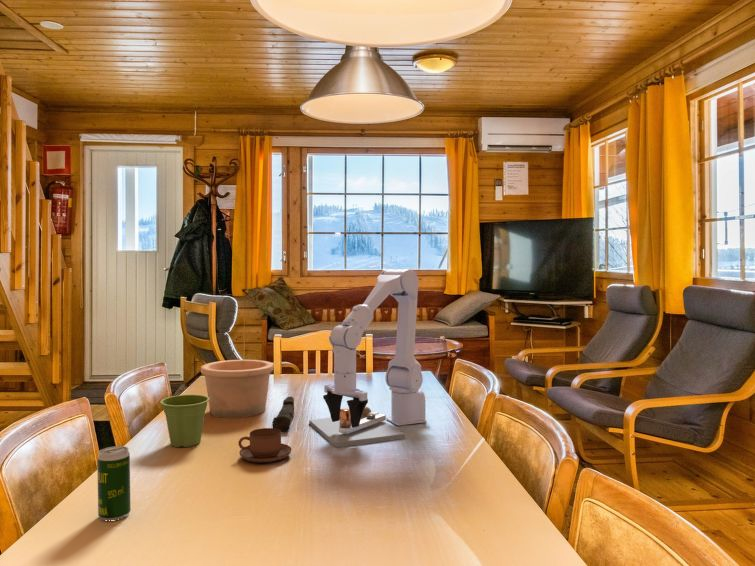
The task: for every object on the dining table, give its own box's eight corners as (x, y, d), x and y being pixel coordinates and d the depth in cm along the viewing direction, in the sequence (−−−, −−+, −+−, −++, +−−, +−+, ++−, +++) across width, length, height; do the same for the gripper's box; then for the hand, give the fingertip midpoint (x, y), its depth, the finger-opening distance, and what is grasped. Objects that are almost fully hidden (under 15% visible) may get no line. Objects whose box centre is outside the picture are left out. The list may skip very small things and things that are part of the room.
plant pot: (150, 447, 146) (149, 402, 146) (181, 434, 157) (181, 393, 157) (190, 453, 142) (189, 406, 142) (219, 439, 153) (219, 396, 153)
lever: (373, 417, 169) (373, 397, 168) (386, 420, 166) (386, 399, 166) (332, 432, 154) (332, 409, 154) (346, 435, 151) (346, 412, 151)
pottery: (222, 424, 167) (221, 374, 167) (189, 410, 184) (188, 364, 183) (287, 412, 182) (286, 365, 181) (251, 399, 198) (251, 357, 198)
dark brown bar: (289, 434, 159) (289, 413, 159) (272, 433, 159) (272, 413, 159) (301, 413, 182) (301, 395, 182) (286, 412, 182) (286, 394, 182)
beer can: (121, 507, 111) (120, 443, 110) (136, 515, 107) (135, 449, 107) (92, 516, 106) (91, 450, 106) (106, 525, 103) (105, 457, 103)
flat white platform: (370, 417, 175) (370, 402, 175) (404, 438, 154) (404, 421, 154) (309, 424, 168) (309, 408, 168) (335, 447, 147) (335, 429, 147)
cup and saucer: (247, 470, 131) (246, 442, 131) (234, 454, 142) (233, 429, 141) (298, 461, 136) (298, 435, 136) (282, 447, 147) (281, 423, 147)
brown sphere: (368, 417, 171) (368, 404, 171) (373, 420, 168) (373, 407, 168) (356, 418, 170) (356, 405, 169) (361, 421, 166) (361, 408, 166)
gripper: (315, 370, 155) (315, 421, 156) (352, 377, 145) (353, 432, 145) (335, 366, 160) (335, 416, 161) (373, 373, 150) (373, 426, 151)
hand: (345, 423), depth 153 cm, fingers open, 7 cm apart
